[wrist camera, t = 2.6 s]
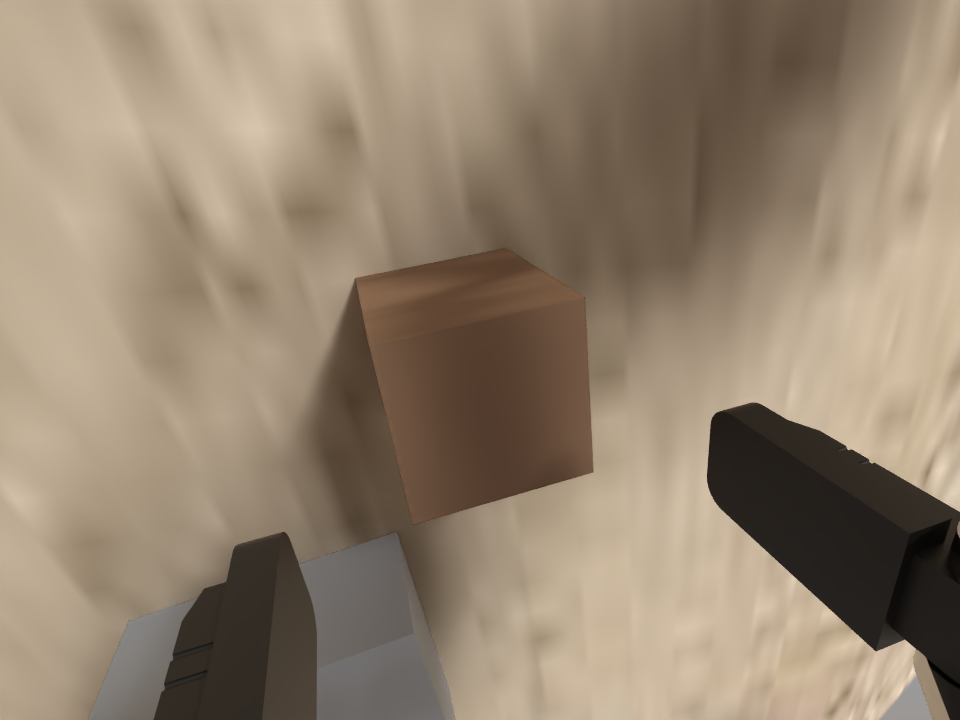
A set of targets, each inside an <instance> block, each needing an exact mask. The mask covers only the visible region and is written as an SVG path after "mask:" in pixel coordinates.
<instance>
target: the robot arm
mask: <svg viewBox="0 0 960 720" xmlns="http://www.w3.org/2000/svg"><path fill="white" fill-rule="evenodd" d="M707 483H708V487H709V490H710V493H711V495H712V497H713V499H714V501H715V502H716V504H717V505H718V506H719V507H720V509H721V510H722V511H724V512H725V513H726V514H727V515H728V516H729V517H730V518H731V519H732V520H733V521H734V522H736V523H737V524H738V525H739V526H740V527H741V528H742V529H743V530H744V531H745V532H746V533H748V534H749V535H750V536H751V537H752V538H753V539H754V540H755V541H756V542H757V543H758V544H759V545H761V546H762V547H763V548H764V549H765V550H766V551H767V552H768V553H769V554H770V555H771V556H773V557H774V558H775V559H776V560H777V561H778V562H779V563H780V564H781V565H782V566H783V567H785V568H786V569H787V570H788V571H789V572H790V573H791V574H792V575H793V576H794V577H795V578H796V579H798V580H799V581H800V582H801V583H802V584H803V585H804V586H805V587H806V588H807V589H808V590H810V591H811V592H812V593H813V594H814V595H815V596H816V597H817V598H818V599H819V600H820V601H822V602H823V603H824V604H825V605H826V606H827V607H828V608H829V609H830V610H831V611H832V612H834V613H835V614H836V615H837V616H838V617H839V618H840V619H841V620H842V621H843V622H844V623H845V624H847V625H848V626H849V627H850V628H851V629H852V630H853V631H854V632H855V633H856V634H857V635H859V636H860V637H861V638H862V639H863V640H864V641H865V642H866V643H867V644H868V645H869V646H871V647H872V648H873V649H874V650H875V651H878V650H881V649H883V648H885V647H888V646H890V645H893V644H895V643H897V642H900V641H902V640H906V641H908V642H909V643H910V644H911V645H912V646H913V647H915V648H916V651H915V654H914V657H913V664H914V668H915V672H916V674H917V677H918V680H919V683H920V686H921V688H922V691H923V694H924V697H925V700H926V702H927V705H928V708H929V711H930V713H931V716H932V719H933V720H960V512H959V511H957V510H955V509H954V508H952V507H950V506H948V505H947V504H945V503H943V502H942V501H940V500H938V499H936V498H935V497H933V496H931V495H929V494H928V493H926V492H924V491H923V490H921V489H919V488H917V487H916V486H914V485H912V484H910V483H909V482H907V481H905V480H904V479H902V478H900V477H898V476H897V475H895V474H893V473H892V472H890V471H888V470H886V469H885V468H883V467H881V466H879V465H878V464H876V463H872V464H871V463H870V462H869V459H867V458H866V457H864V456H862V455H860V454H859V453H857V452H855V451H854V450H852V449H851V450H847V448H846V446H845V445H843V444H842V443H840V442H838V441H836V440H835V439H833V438H831V437H829V436H828V435H826V434H824V433H823V432H821V431H819V430H816V429H813V428H810V427H807V426H804V425H801V424H798V423H795V422H792V421H789V420H787V419H785V418H783V417H782V416H780V415H778V414H777V413H775V412H773V411H771V410H770V409H768V408H766V407H765V406H763V405H761V404H759V403H748V404H745V405H741V406H738V407H734V408H730V409H727V410H723V411H720V412H717V413H716V414H715V415H714V416H713V418H712V420H711V428H710V442H709V456H708V469H707ZM172 655H173V661H170V664H169V667H168V671H167V674H166V678H165V681H164V686H165V689H164V691H162V692H161V695H160V699H159V702H158V706H157V709H156V712H155V716H154V719H153V720H317V628H316V620H315V613H314V608H313V604H312V600H311V597H310V594H309V591H308V589H307V586H306V583H305V580H304V577H303V575H302V572H301V569H300V566H299V564H298V561H297V558H296V555H295V553H294V550H293V547H292V544H291V542H290V539H289V537H288V535H287V534H286V533H285V532H281V533H278V534H274V535H270V536H267V537H263V538H260V539H256V540H252V541H249V542H245V543H242V544H238V545H236V546H235V548H234V550H233V554H232V558H231V563H230V568H229V572H228V577H227V582H226V583H222V584H219V585H215V586H212V587H208V588H205V589H204V590H203V591H202V593H201V594H200V596H199V597H198V599H197V600H196V601H195V603H194V604H193V606H192V607H191V609H190V610H189V611H188V613H187V614H186V616H185V617H184V619H183V620H182V622H181V626H180V629H179V633H178V636H177V640H176V643H175V647H174V650H173V654H172Z"/></svg>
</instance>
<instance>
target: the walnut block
mask: <svg viewBox="0 0 960 720" xmlns="http://www.w3.org/2000/svg"><path fill="white" fill-rule="evenodd" d="M355 279H356V284H357V289H358V294H359V299H360V304H361V309H362V314H363V319H364V324H365V329H366V334H367V339H368V344H369V348H370V352H371V356H372V360H373V364H374V369H375V373H376V377H377V381H378V385H379V389H380V393H381V397H382V401H383V405H384V409H385V413H386V418H387V422H388V426H389V430H390V434H391V438H392V442H393V446H394V450H395V454H396V458H397V462H398V467H399V471H400V475H401V479H402V483H403V487H404V491H405V495H406V499H407V503H408V507H409V511H410V516H411V520H412V524H413V525H414V524H418V523H421V522H425V521H428V520H431V519H435V518H438V517H442V516H445V515H449V514H452V513H455V512H459V511H462V510H466V509H469V508H473V507H476V506H479V505H483V504H486V503H490V502H493V501H496V500H500V499H503V498H507V497H510V496H514V495H517V494H520V493H524V492H527V491H531V490H534V489H538V488H541V487H544V486H548V485H551V484H555V483H558V482H562V481H565V480H568V479H572V478H575V477H579V476H582V475H586V474H589V473H592V472H593V453H592V433H591V412H590V392H589V372H588V351H587V331H586V310H585V298H584V297H583V296H581V295H580V294H578V293H577V292H575V291H573V290H572V289H570V288H569V287H567V286H565V285H564V284H562V283H561V282H559V281H557V280H556V279H554V278H553V277H551V276H549V275H548V274H546V273H545V272H543V271H541V270H540V269H538V268H537V267H535V266H533V265H532V264H530V263H529V262H527V261H525V260H524V259H522V258H521V257H519V256H518V255H516V254H514V253H513V252H511V251H510V250H508V249H506V248H505V249H500V250H495V251H490V252H485V253H480V254H474V255H469V256H464V257H459V258H454V259H449V260H444V261H439V262H434V263H429V264H424V265H419V266H414V267H409V268H404V269H399V270H394V271H389V272H384V273H379V274H374V275H369V276H364V277H359V278H355Z"/></svg>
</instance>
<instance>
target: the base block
mask: <svg viewBox="0 0 960 720" xmlns="http://www.w3.org/2000/svg"><path fill="white" fill-rule="evenodd" d="M299 566H300V569H301V572H302V575H303V577H304V580H305V583H306V586H307V589H308V591H309V594H310V597H311V600H312V604H313V608H314V613H315V620H316V628H317V720H456V719H455V715H454V710H453V706H452V701H451V696H450V692H449V687H448V684H447V681H446V678H445V675H444V672H443V669H442V666H441V663H440V660H439V657H438V654H437V651H436V648H435V645H434V642H433V639H432V636H431V633H430V630H429V627H428V624H427V621H426V618H425V615H424V612H423V609H422V606H421V603H420V600H419V597H418V594H417V591H416V588H415V586H414V583H413V580H412V577H411V574H410V571H409V568H408V565H407V562H406V559H405V556H404V553H403V550H402V547H401V544H400V541H399V538H398V535H397V532H394V533H391V534H388V535H385V536H382V537H379V538H376V539H373V540H370V541H367V542H364V543H361V544H358V545H355V546H352V547H349V548H346V549H343V550H340V551H337V552H334V553H331V554H328V555H325V556H322V557H319V558H316V559H313V560H310V561H307V562H304V563H301V564H299ZM197 599H198V598H196V599H193V600H190V601H187V602H184V603H181V604H178V605H175V606H172V607H169V608H166V609H163V610H160V611H157V612H154V613H151V614H148V615H145V616H142V617H139V618H136V619H133V620H130V621H128V624H127V626H126V629H125V631H124V633H123V636H122V638H121V641H120V643H119V646H118V648H117V651H116V653H115V655H114V658H113V660H112V663H111V665H110V668H109V670H108V673H107V675H106V677H105V680H104V682H103V685H102V687H101V690H100V692H99V695H98V697H97V699H96V702H95V704H94V707H93V709H92V712H91V714H90V717H89V719H88V720H153V719H154V716H155V712H156V709H157V706H158V702H159V699H160V695H161V692H162V691H164V689H165V686H164V681H165V678H166V674H167V671H168V667H169V664H170V661H173V655H172V654H173V650H174V647H175V643H176V640H177V636H178V633H179V629H180V626H181V622H182V620H183V619H184V617H185V616H186V614H187V613H188V611H189V610H190V609H191V607H192V606H193V604H194V603H195V601H196V600H197Z"/></svg>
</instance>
